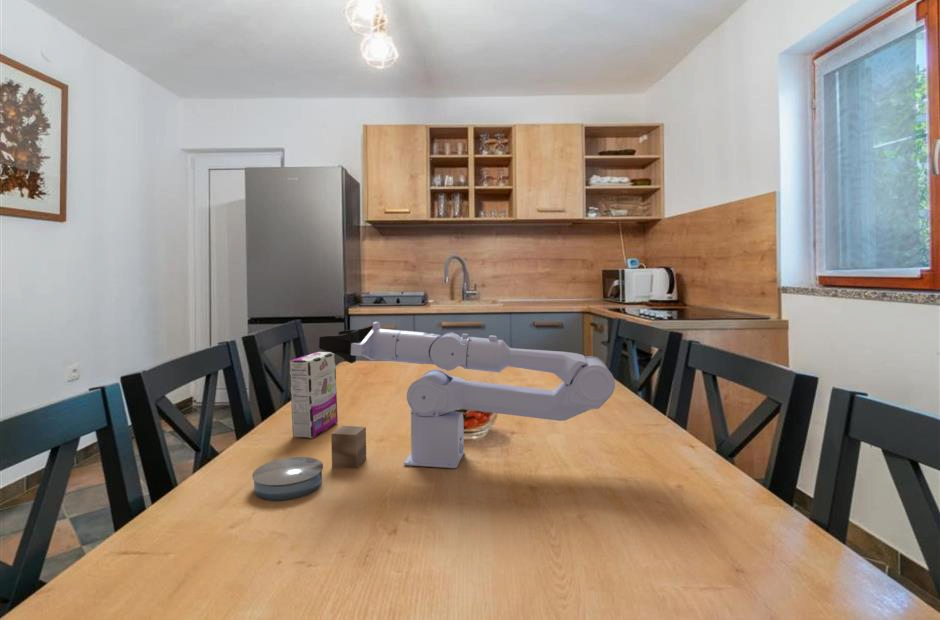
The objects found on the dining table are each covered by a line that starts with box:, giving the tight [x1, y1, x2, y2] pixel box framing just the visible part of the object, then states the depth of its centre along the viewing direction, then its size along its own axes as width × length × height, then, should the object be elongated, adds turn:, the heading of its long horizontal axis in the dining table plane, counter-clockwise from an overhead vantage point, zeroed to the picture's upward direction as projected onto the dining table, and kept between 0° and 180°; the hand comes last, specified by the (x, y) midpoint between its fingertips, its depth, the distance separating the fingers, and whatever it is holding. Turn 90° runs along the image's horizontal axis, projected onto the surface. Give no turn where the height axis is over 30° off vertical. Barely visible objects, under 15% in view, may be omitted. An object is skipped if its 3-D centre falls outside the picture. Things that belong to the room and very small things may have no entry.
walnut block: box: [330, 425, 367, 470], centre depth 84 cm, size 4×4×6 cm
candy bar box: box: [289, 351, 339, 439], centre depth 101 cm, size 11×5×16 cm, turn 168°
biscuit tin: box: [252, 456, 324, 502], centre depth 74 cm, size 10×10×3 cm
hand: (330, 339), depth 87 cm, fingers open, 7 cm apart
